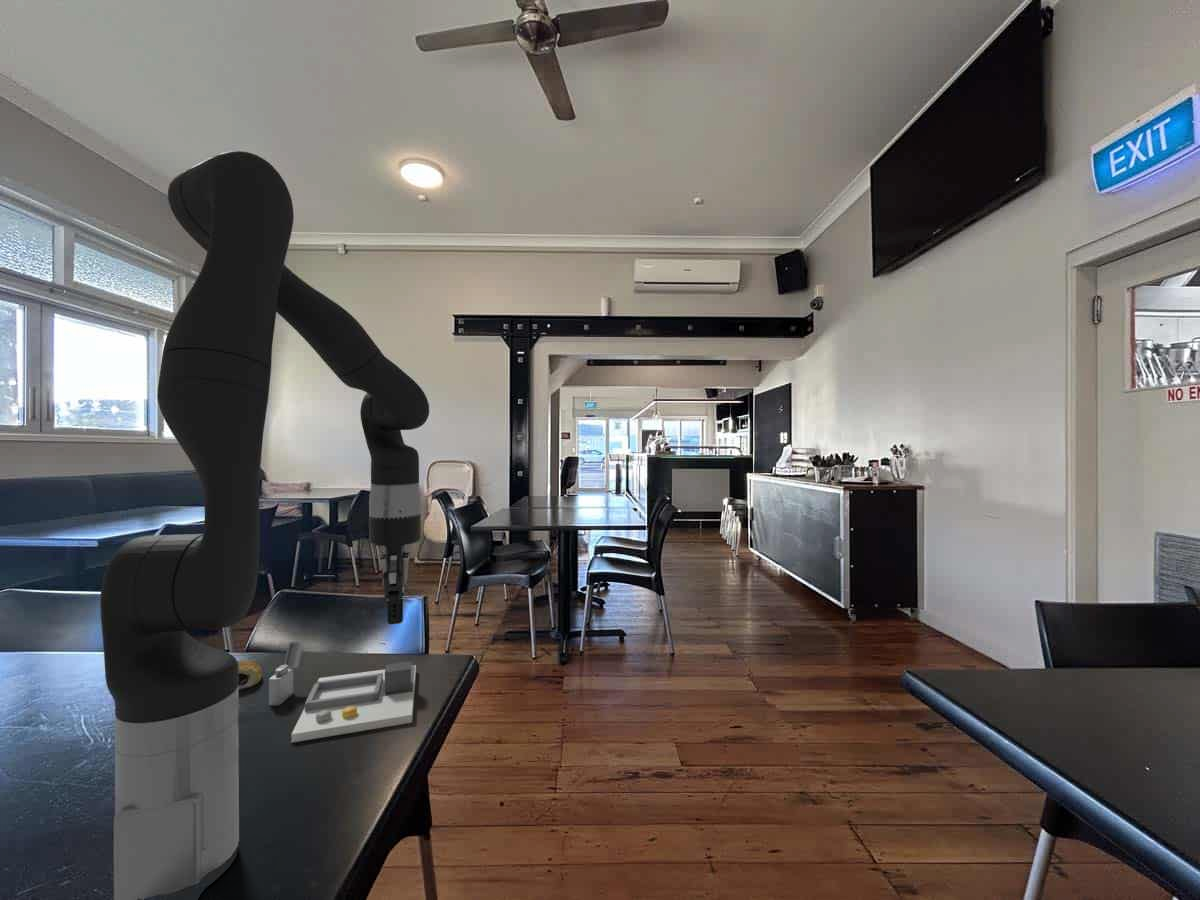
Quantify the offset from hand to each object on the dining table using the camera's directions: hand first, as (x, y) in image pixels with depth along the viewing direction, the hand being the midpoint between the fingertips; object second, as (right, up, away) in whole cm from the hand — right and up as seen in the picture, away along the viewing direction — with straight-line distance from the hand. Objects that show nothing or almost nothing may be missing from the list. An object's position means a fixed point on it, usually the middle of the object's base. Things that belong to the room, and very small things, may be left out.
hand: (395, 622), depth 77 cm
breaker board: (-7, -14, +3) cm, 16 cm away
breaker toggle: (-2, -13, +6) cm, 14 cm away
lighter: (-21, -15, +6) cm, 26 cm away
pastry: (-32, -15, +10) cm, 37 cm away
